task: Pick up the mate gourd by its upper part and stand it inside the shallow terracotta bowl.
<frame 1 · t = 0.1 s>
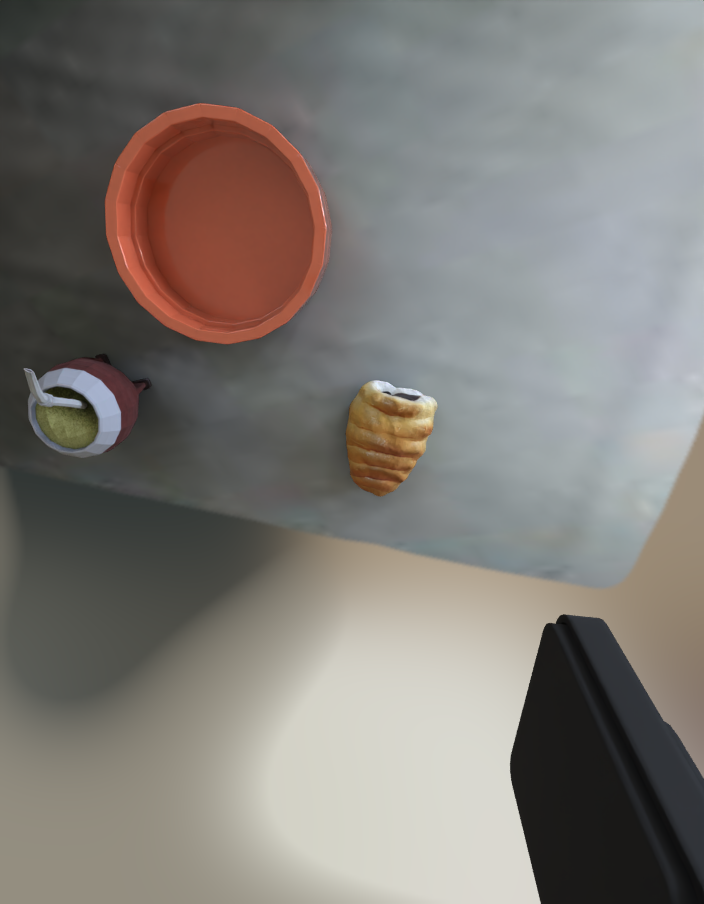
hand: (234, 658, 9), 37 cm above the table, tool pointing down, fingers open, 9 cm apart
pastry: (389, 428, 46), on the table
terracotta bowl: (233, 233, 41), on the table
mate gourd: (117, 384, 46), on the table
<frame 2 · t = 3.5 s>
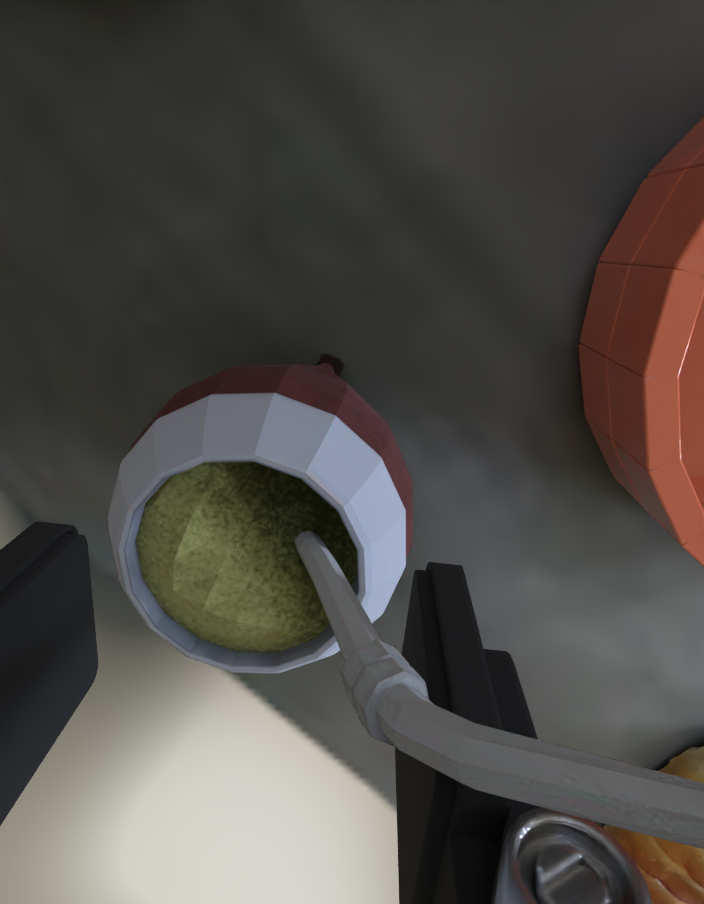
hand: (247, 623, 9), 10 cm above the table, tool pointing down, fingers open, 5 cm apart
mate gourd: (313, 432, 19), on the table, touching gripper
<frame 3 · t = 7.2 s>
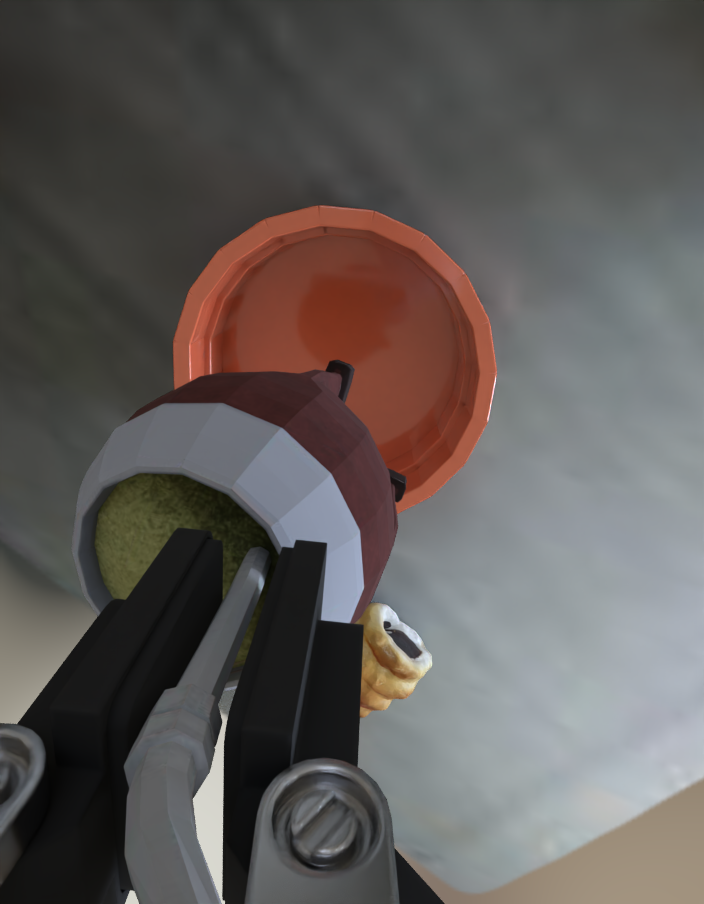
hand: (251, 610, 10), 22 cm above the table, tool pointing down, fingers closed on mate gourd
pastry: (361, 648, 37), on the table
terracotta bowl: (339, 360, 30), on the table
mate gourd: (328, 439, 18), point 13 cm above the table, touching gripper
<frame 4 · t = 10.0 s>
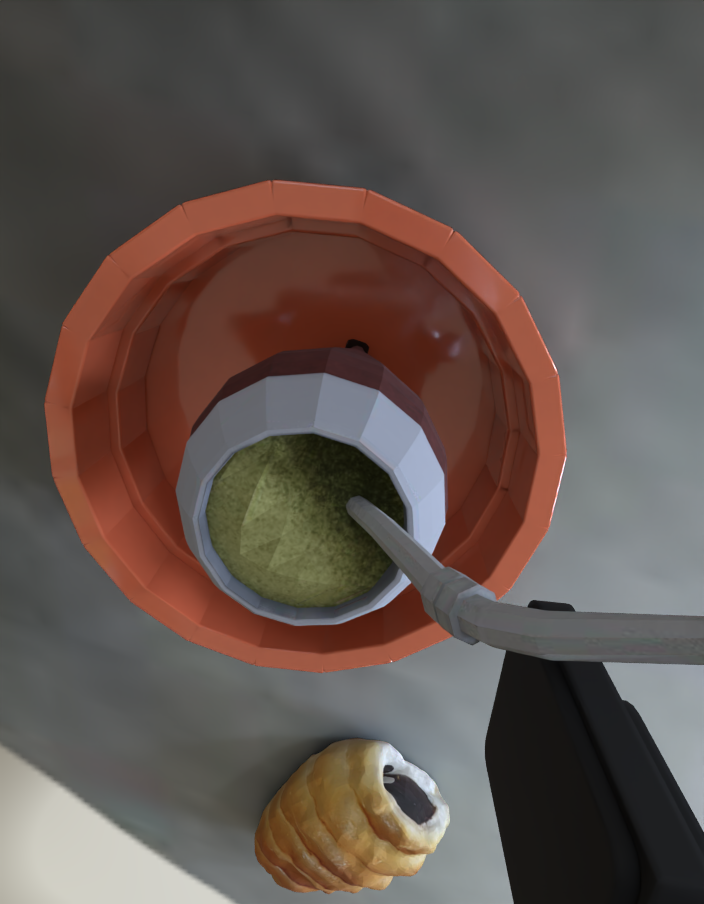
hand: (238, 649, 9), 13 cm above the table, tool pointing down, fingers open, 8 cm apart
pastry: (353, 789, 27), on the table
terracotta bowl: (319, 415, 21), on the table
mate gourd: (342, 412, 20), resting on terracotta bowl
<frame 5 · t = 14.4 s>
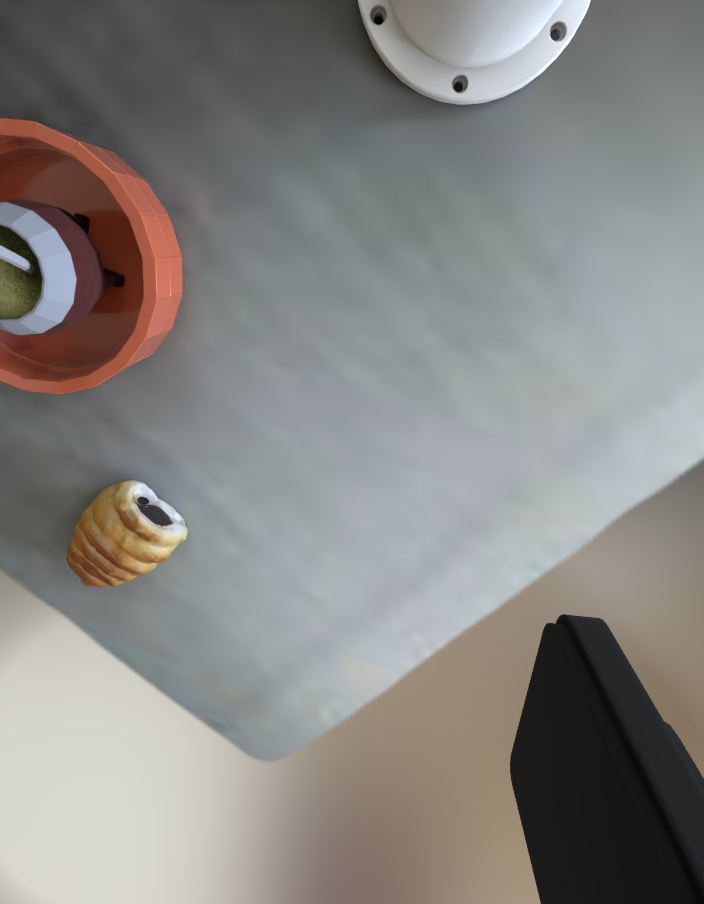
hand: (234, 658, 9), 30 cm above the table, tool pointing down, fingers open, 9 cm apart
pastry: (135, 526, 43), on the table
terracotta bowl: (73, 263, 36), on the table
mate gourd: (82, 260, 36), resting on terracotta bowl
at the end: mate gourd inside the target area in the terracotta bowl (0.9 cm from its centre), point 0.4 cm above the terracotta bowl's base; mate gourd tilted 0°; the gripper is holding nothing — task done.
